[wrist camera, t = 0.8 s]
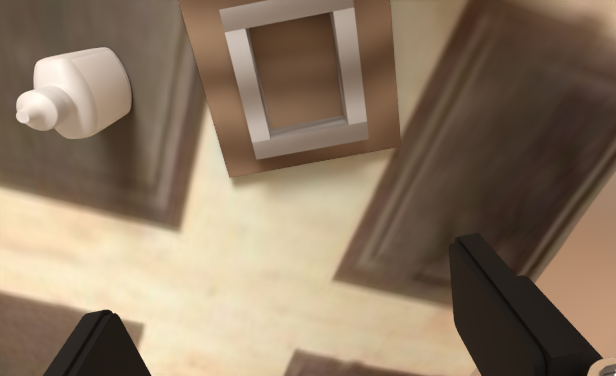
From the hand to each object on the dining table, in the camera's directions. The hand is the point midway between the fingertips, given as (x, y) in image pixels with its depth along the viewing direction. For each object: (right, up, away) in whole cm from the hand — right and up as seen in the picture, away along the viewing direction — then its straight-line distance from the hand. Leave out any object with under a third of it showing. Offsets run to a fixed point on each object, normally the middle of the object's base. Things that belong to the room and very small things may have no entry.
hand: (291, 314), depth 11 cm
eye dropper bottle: (-17, +13, +22) cm, 31 cm away
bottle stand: (0, +14, +23) cm, 26 cm away
